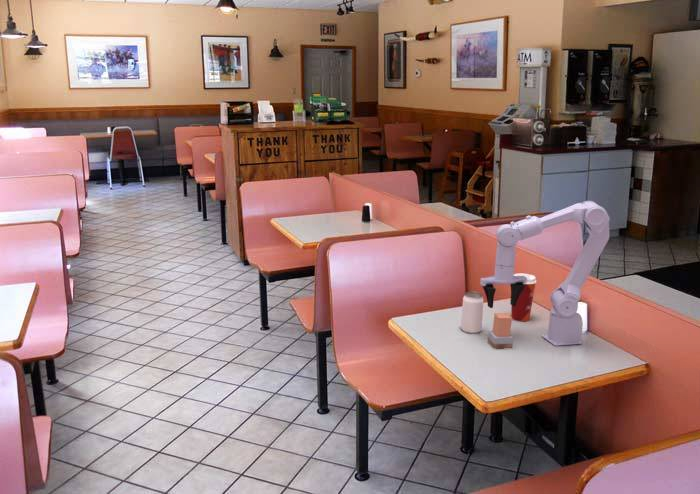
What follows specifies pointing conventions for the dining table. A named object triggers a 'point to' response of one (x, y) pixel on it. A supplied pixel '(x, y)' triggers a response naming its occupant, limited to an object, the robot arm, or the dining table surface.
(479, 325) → the can
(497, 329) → the brick block
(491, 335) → the tower upper
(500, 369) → the dining table surface
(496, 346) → the tower lower
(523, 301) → the coffee cup
